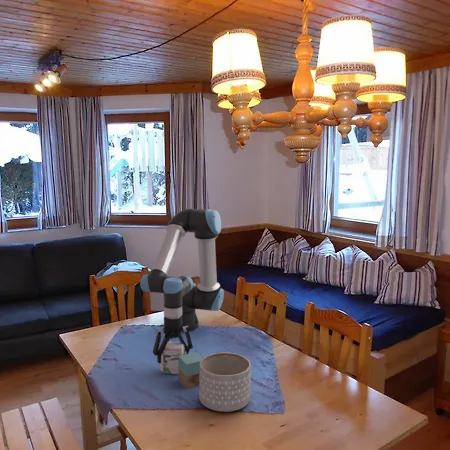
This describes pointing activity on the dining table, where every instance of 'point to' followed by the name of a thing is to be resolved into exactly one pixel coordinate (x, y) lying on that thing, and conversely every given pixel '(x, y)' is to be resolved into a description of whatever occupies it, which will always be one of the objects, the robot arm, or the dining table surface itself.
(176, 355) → the ink box
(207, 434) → the dining table surface
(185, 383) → the tower bottom block
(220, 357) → the planter
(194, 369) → the tower top block
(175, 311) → the robot arm
